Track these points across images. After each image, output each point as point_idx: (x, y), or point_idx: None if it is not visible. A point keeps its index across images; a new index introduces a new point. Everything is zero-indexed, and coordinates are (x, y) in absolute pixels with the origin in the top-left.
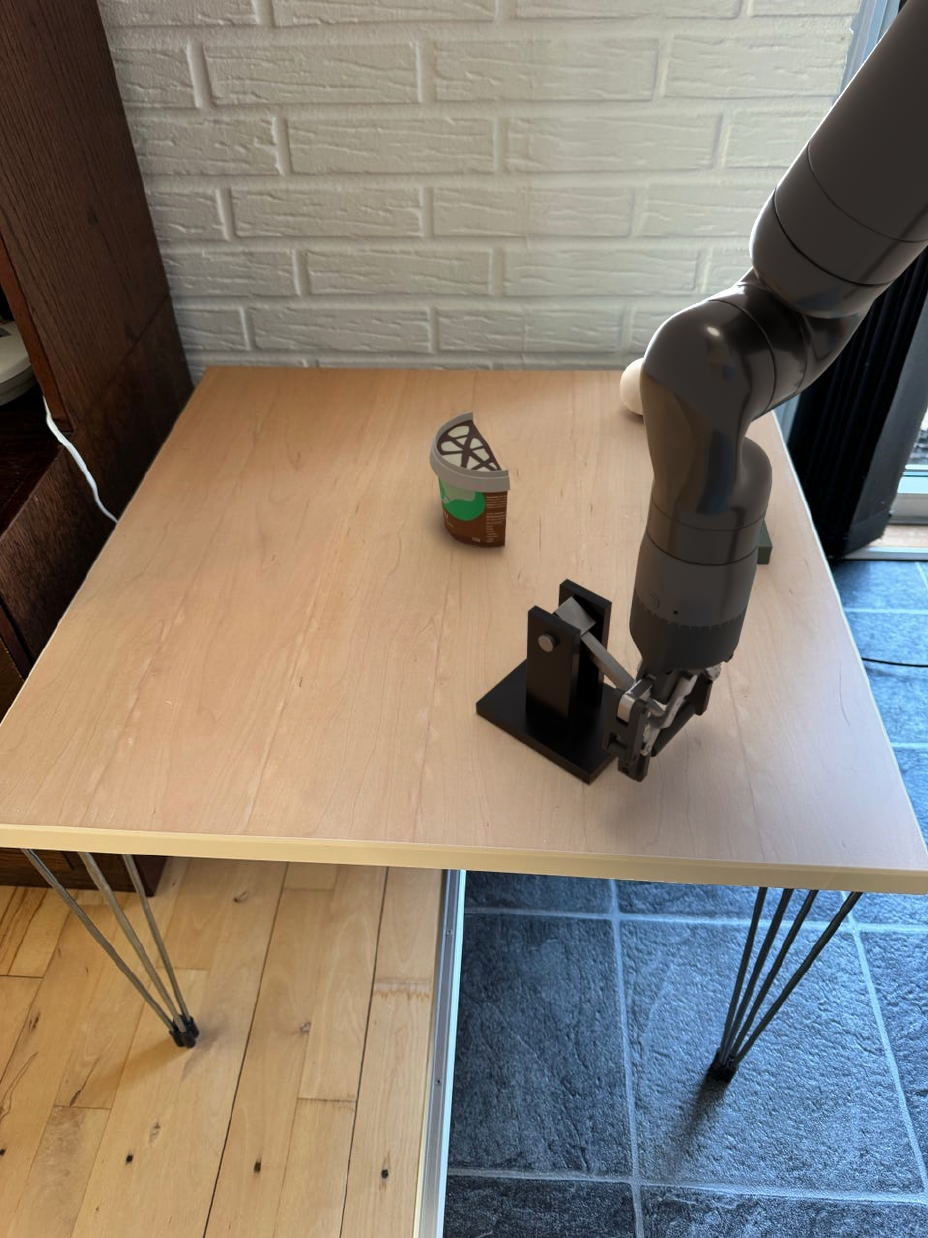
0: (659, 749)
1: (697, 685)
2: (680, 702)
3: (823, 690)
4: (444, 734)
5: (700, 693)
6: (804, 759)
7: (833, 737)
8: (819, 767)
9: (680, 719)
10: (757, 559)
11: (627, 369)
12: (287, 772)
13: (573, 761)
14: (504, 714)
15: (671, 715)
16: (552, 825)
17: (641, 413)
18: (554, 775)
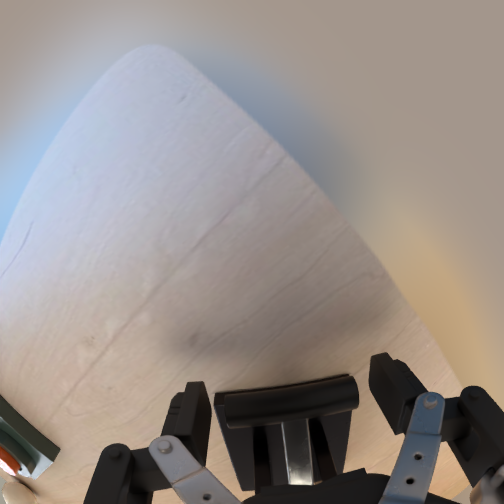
0: (346, 384)
1: (198, 439)
2: (395, 481)
3: (22, 275)
4: (373, 459)
5: (197, 422)
6: (103, 223)
7: (54, 221)
8: (99, 201)
9: (271, 408)
10: (3, 403)
11: None
12: (445, 458)
13: None
14: (338, 463)
15: (425, 457)
16: (410, 355)
17: (30, 493)
18: (359, 398)
